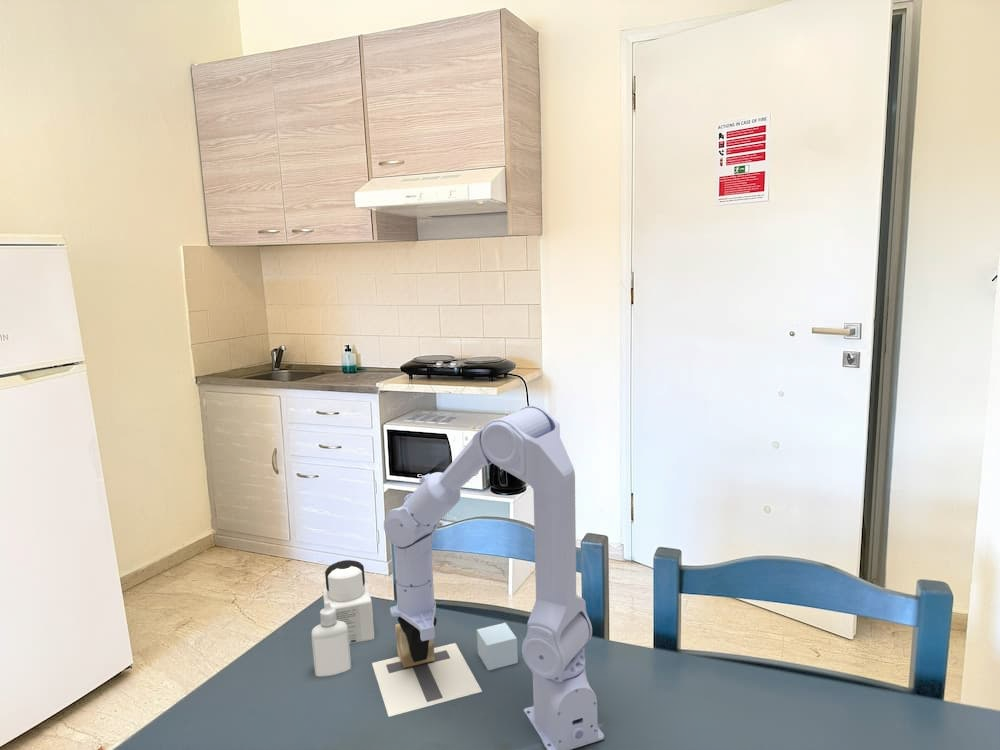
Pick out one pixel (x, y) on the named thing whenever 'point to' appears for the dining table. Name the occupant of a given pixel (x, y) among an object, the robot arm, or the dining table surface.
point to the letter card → (425, 681)
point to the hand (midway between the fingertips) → (419, 658)
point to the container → (350, 598)
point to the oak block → (405, 652)
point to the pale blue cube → (497, 646)
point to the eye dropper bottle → (330, 644)
